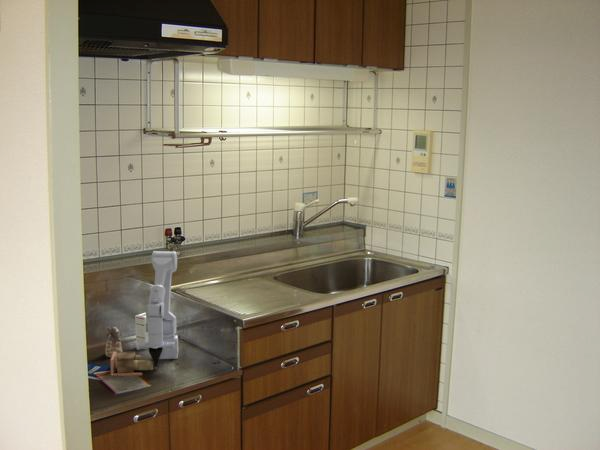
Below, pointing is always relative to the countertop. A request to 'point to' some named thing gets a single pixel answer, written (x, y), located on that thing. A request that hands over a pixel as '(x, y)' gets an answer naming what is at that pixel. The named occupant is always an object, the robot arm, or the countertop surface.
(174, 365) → the countertop surface
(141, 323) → the syrup box
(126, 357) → the block
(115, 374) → the end wall and guide rails
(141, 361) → the dowel
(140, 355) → the short dowel
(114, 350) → the figurine
